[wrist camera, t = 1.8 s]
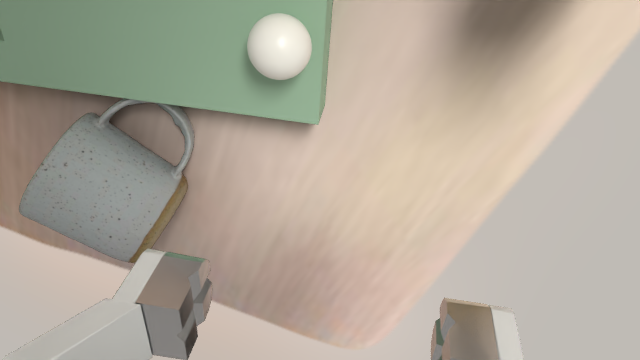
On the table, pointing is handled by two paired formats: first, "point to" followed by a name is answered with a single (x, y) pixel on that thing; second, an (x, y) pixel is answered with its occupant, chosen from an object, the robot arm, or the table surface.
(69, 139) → the ceramic mug
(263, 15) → the putting strip
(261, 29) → the ball
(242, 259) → the table surface
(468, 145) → the table surface
